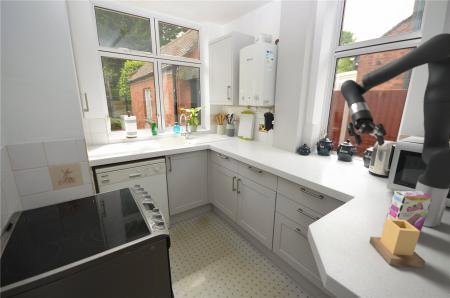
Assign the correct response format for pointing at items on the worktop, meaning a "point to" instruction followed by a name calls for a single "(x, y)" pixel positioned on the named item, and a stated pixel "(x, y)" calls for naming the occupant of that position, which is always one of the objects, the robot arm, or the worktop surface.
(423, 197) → the candy bar box
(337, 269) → the worktop surface
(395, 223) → the sleeve
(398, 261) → the post stand
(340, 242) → the worktop surface
